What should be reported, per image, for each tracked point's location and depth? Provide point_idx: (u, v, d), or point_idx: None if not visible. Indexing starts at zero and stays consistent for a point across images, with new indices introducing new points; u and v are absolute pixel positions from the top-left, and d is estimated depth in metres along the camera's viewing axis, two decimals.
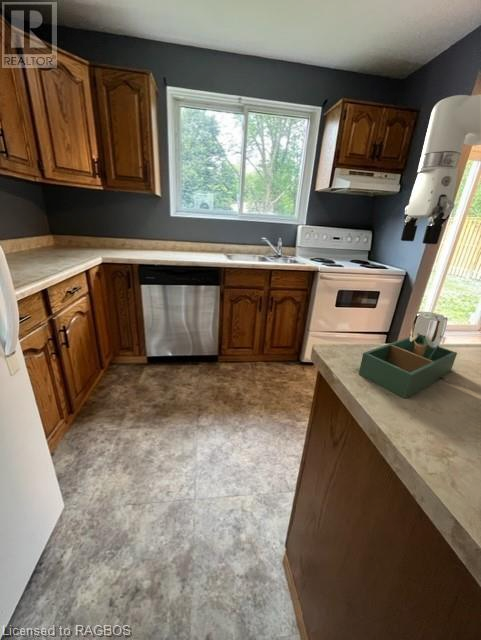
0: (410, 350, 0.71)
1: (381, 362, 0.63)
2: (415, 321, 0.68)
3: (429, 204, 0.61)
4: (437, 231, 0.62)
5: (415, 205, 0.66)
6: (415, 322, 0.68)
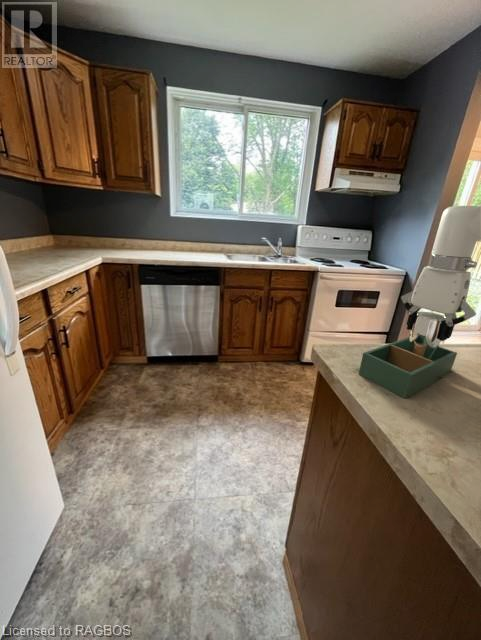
0: (410, 350, 0.71)
1: (381, 362, 0.63)
2: (415, 321, 0.68)
3: (453, 305, 0.61)
4: (452, 330, 0.64)
5: (428, 299, 0.65)
6: (415, 322, 0.68)
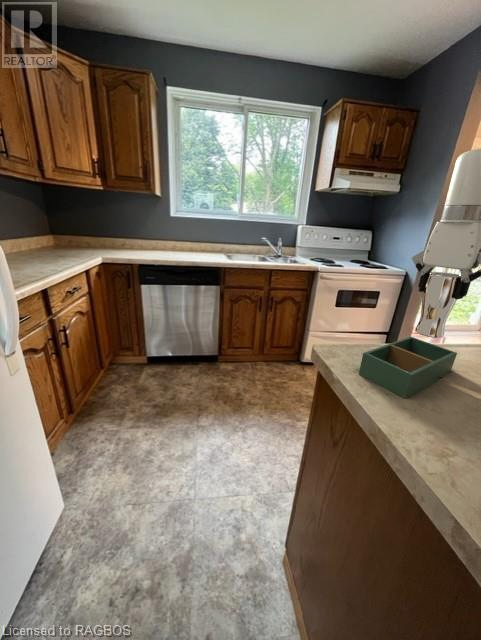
0: (423, 313, 0.67)
1: (381, 362, 0.63)
2: (428, 281, 0.65)
3: (469, 258, 0.58)
4: (468, 287, 0.61)
5: (442, 256, 0.61)
6: (428, 282, 0.65)
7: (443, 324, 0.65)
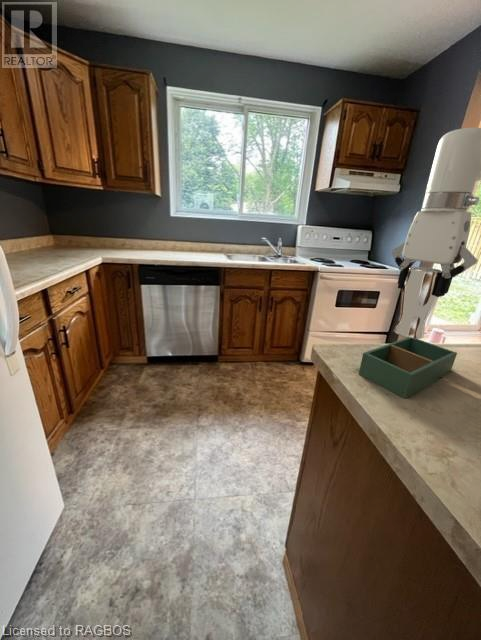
0: (401, 311, 0.61)
1: (381, 362, 0.63)
2: (407, 276, 0.59)
3: (451, 252, 0.52)
4: (449, 283, 0.55)
5: (422, 248, 0.56)
6: (407, 277, 0.59)
7: (423, 324, 0.60)
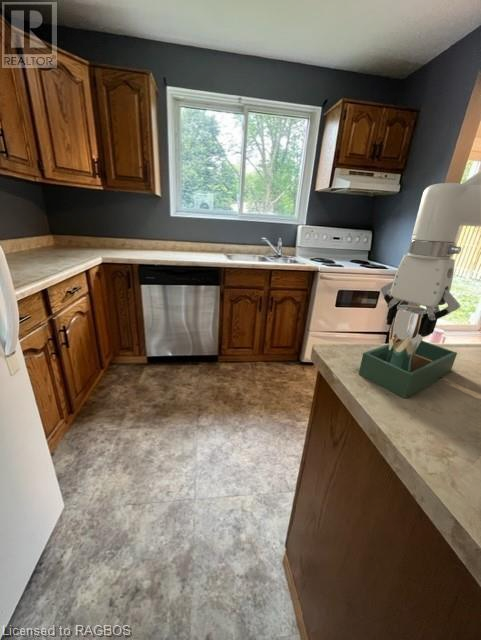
0: (390, 347, 0.64)
1: (381, 362, 0.63)
2: (395, 315, 0.62)
3: (435, 296, 0.55)
4: (434, 324, 0.58)
5: (409, 290, 0.59)
6: (395, 316, 0.62)
7: (410, 360, 0.62)
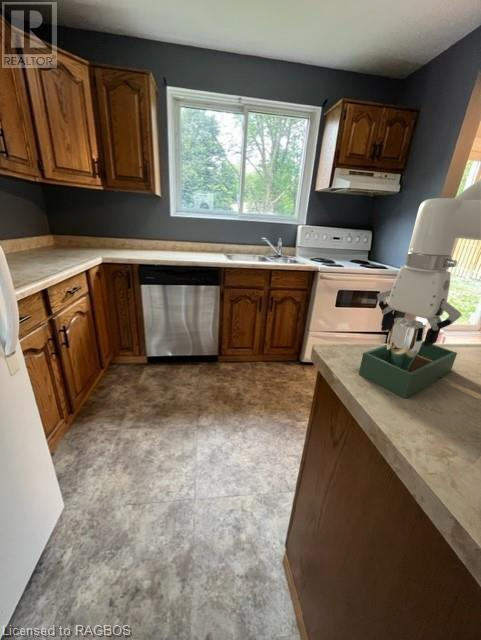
0: (387, 359, 0.65)
1: (381, 362, 0.63)
2: (392, 328, 0.63)
3: (432, 308, 0.56)
4: (437, 334, 0.58)
5: (406, 302, 0.59)
6: (391, 329, 0.63)
7: None
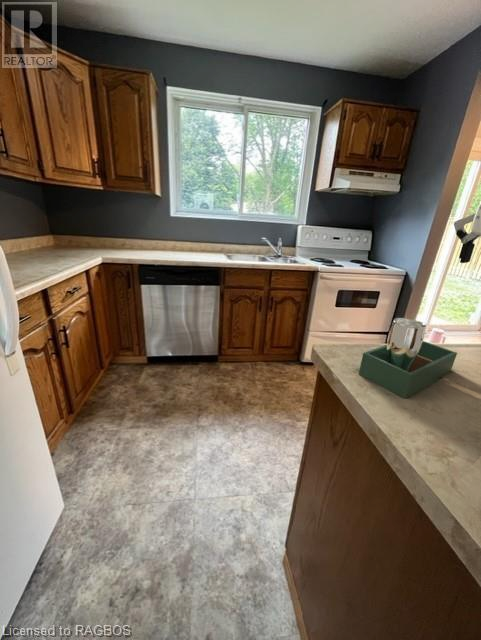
0: (387, 359, 0.65)
1: (381, 362, 0.63)
2: (392, 328, 0.63)
3: None
4: None
5: None
6: (392, 329, 0.63)
7: None
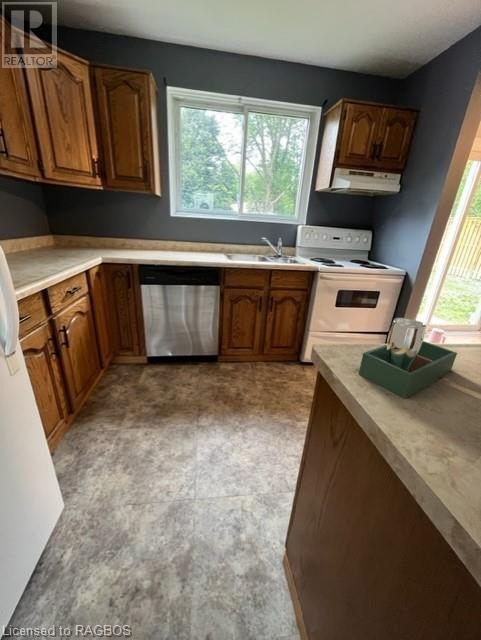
0: (387, 359, 0.65)
1: (381, 362, 0.63)
2: (392, 328, 0.63)
3: None
4: None
5: None
6: (392, 329, 0.63)
7: None
